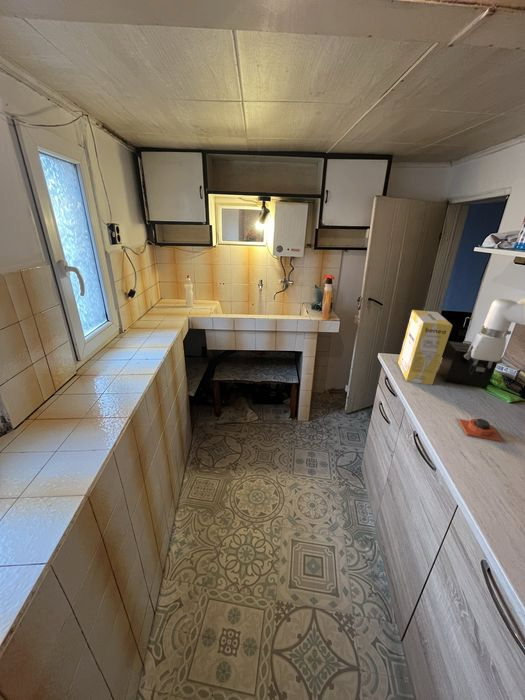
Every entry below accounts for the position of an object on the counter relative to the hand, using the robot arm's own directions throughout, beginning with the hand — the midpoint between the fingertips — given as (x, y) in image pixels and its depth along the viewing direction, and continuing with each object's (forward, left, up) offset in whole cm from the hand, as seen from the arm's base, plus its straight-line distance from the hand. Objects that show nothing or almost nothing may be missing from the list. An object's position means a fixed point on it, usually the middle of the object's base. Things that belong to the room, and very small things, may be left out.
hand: (476, 373), depth 114 cm
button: (+6, +28, -6) cm, 29 cm away
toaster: (0, -10, -9) cm, 14 cm away
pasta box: (+20, -9, -9) cm, 24 cm away
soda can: (-5, -25, -9) cm, 27 cm away
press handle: (0, -2, +2) cm, 2 cm away
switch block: (+6, +28, -9) cm, 30 cm away
